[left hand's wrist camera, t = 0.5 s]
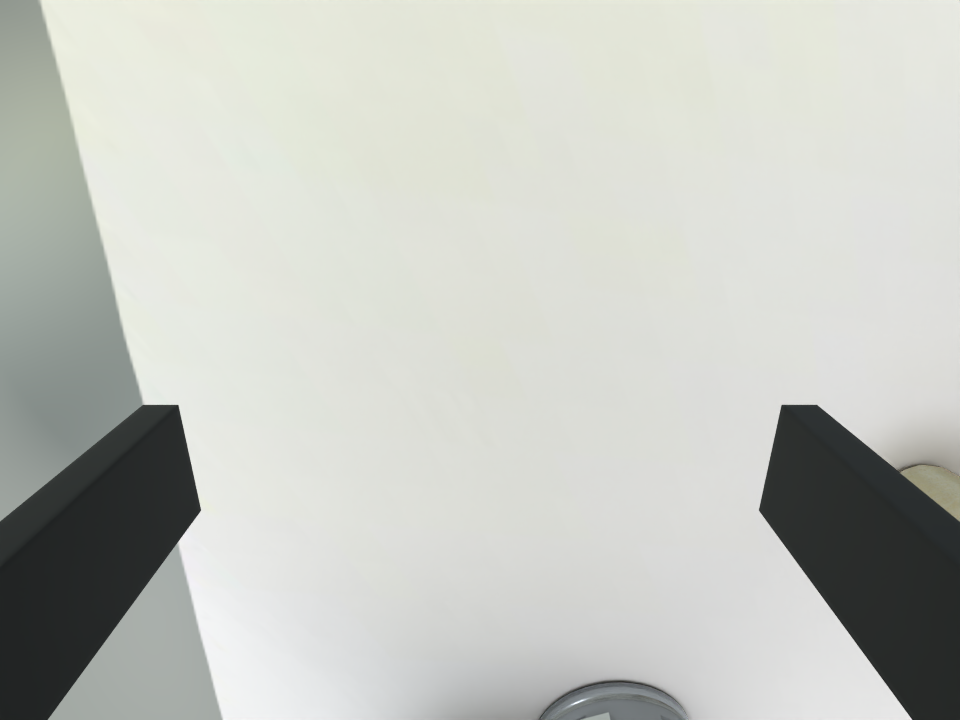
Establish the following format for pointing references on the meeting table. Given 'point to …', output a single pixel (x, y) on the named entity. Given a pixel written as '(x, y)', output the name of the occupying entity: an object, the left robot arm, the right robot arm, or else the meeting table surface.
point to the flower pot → (937, 486)
